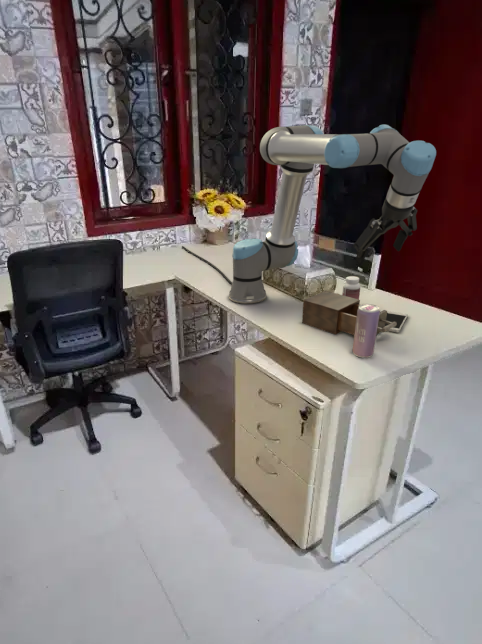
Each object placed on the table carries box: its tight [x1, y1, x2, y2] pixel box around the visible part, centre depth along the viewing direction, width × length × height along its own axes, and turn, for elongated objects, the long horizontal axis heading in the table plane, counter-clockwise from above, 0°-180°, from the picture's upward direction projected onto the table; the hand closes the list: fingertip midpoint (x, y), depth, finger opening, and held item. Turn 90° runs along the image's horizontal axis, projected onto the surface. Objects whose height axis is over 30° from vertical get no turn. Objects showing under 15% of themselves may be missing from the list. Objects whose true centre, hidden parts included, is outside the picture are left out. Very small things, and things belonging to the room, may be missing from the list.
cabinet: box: [301, 290, 361, 336], centre depth 144 cm, size 14×13×9 cm
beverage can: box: [352, 303, 381, 359], centre depth 121 cm, size 6×6×15 cm
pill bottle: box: [341, 275, 361, 300], centre depth 157 cm, size 6×6×11 cm
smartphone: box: [385, 310, 409, 333], centre depth 143 cm, size 7×16×1 cm, turn 146°
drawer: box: [338, 304, 397, 336], centre depth 134 cm, size 17×12×7 cm
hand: (377, 255), depth 130 cm, fingers open, 13 cm apart
